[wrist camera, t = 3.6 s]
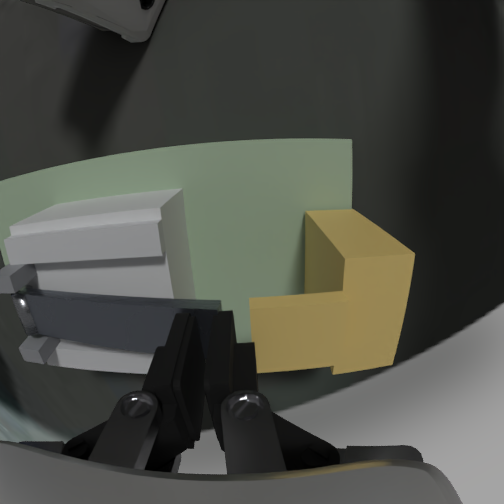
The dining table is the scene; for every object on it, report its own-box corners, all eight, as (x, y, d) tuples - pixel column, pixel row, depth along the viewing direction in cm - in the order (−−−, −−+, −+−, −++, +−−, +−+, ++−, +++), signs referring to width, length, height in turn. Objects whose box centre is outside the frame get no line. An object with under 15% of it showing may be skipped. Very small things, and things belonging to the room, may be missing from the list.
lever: (222, 295, 12) (215, 314, 11) (228, 344, 13) (221, 365, 12) (22, 284, 13) (6, 295, 12) (35, 321, 14) (21, 333, 13)
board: (345, 139, 18) (416, 143, 10) (336, 331, 23) (372, 413, 15) (-3, 182, 17) (-80, 210, 9) (39, 334, 22) (-8, 395, 14)
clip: (353, 209, 18) (425, 261, 10) (348, 292, 20) (398, 375, 12) (244, 213, 18) (247, 274, 10) (249, 299, 20) (255, 394, 12)
